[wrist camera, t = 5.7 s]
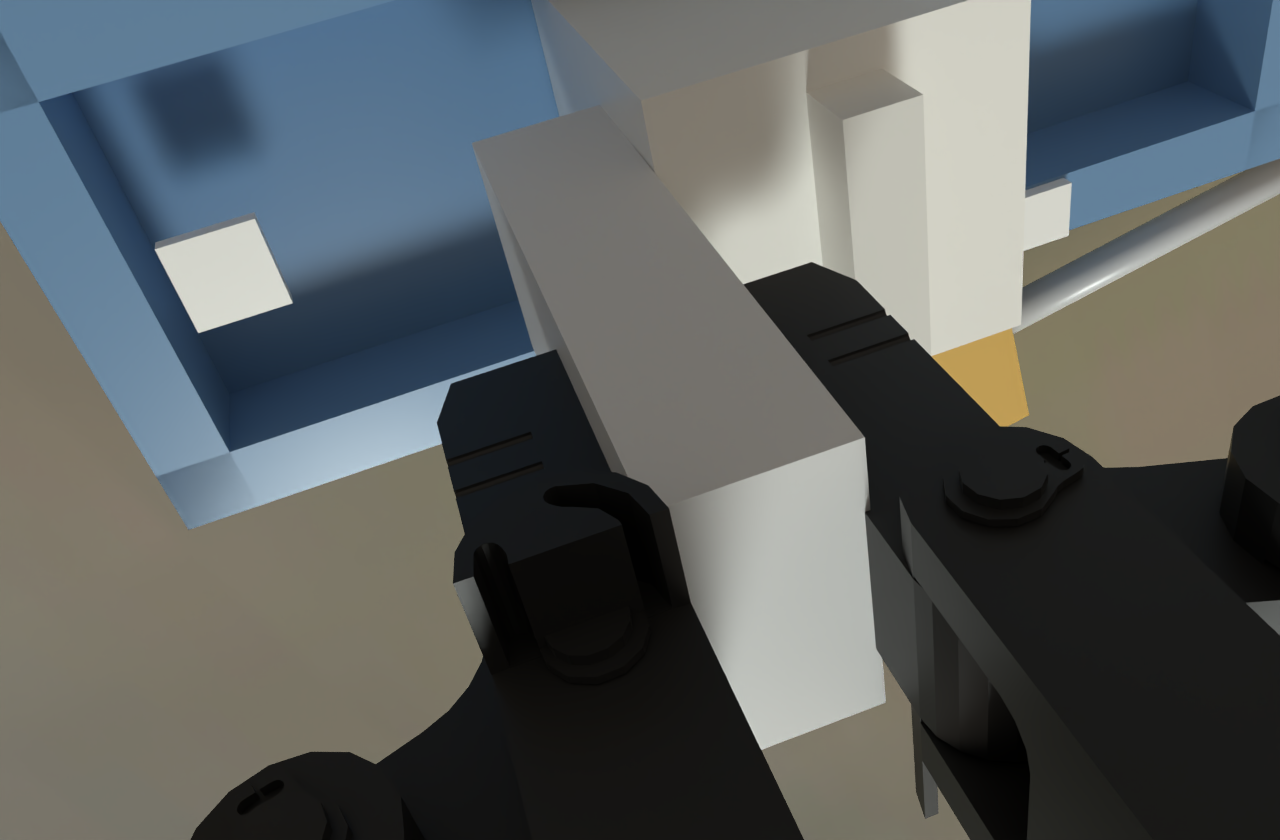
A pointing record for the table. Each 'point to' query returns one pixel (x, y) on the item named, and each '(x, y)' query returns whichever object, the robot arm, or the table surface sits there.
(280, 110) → the switch bank
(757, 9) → the tab
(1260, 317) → the table surface
